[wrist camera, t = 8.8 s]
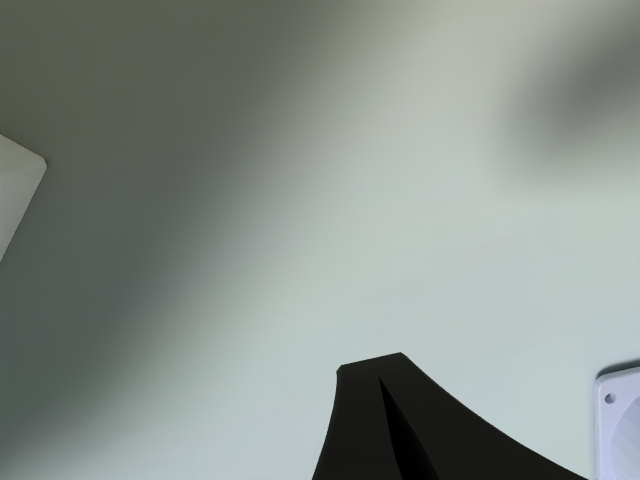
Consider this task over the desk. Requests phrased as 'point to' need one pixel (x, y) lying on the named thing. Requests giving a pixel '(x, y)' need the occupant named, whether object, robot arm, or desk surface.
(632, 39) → the desk surface
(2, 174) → the gable box
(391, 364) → the robot arm
